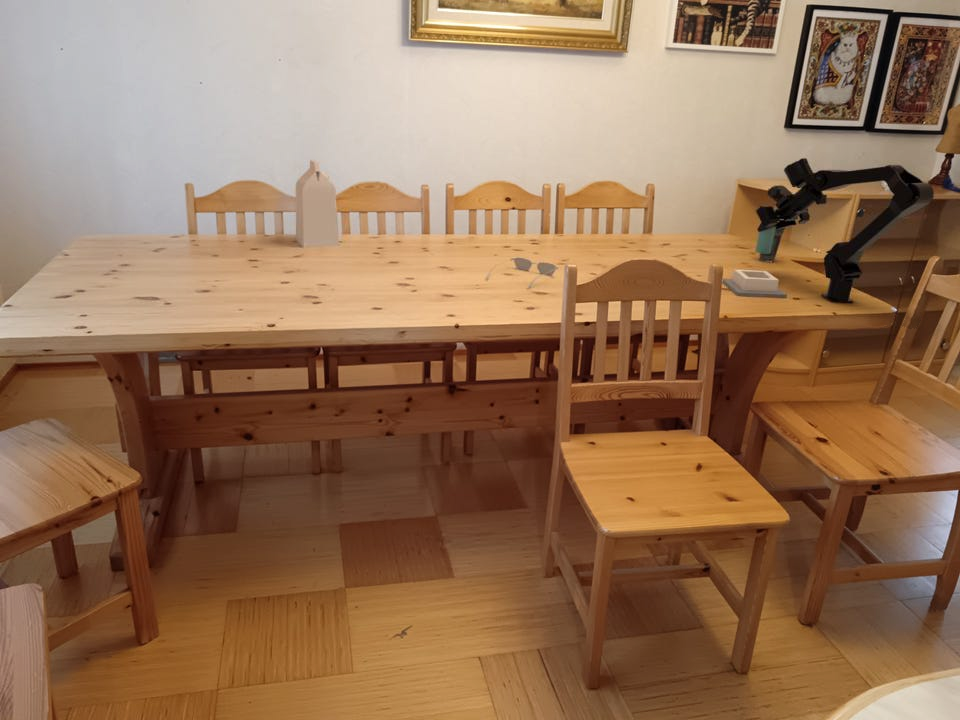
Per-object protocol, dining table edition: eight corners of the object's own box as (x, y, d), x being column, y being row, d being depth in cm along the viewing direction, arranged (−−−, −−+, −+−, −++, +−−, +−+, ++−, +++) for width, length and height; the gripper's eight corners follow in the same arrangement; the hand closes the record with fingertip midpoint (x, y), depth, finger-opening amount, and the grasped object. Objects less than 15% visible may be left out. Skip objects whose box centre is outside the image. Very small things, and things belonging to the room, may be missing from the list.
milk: (296, 239, 237) (291, 158, 227) (330, 237, 241) (327, 158, 231) (303, 247, 227) (299, 163, 217) (339, 245, 231) (337, 163, 221)
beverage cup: (764, 263, 237) (776, 203, 229) (750, 258, 243) (762, 199, 236) (782, 263, 239) (795, 203, 231) (769, 257, 245) (781, 199, 238)
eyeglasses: (557, 278, 210) (558, 264, 209) (529, 292, 196) (531, 278, 194) (512, 268, 217) (512, 256, 216) (481, 281, 203) (482, 268, 201)
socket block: (786, 298, 201) (789, 282, 199) (737, 295, 201) (740, 280, 199) (767, 283, 214) (770, 269, 212) (721, 281, 214) (724, 267, 212)
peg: (772, 254, 220) (781, 212, 215) (758, 253, 220) (767, 211, 215) (767, 250, 224) (775, 209, 219) (753, 250, 224) (761, 208, 219)
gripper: (810, 176, 214) (772, 206, 227) (767, 178, 206) (731, 209, 219) (826, 207, 211) (788, 236, 224) (784, 211, 202) (746, 240, 215)
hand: (763, 230), depth 221 cm, fingers closed on peg, 4 cm apart
